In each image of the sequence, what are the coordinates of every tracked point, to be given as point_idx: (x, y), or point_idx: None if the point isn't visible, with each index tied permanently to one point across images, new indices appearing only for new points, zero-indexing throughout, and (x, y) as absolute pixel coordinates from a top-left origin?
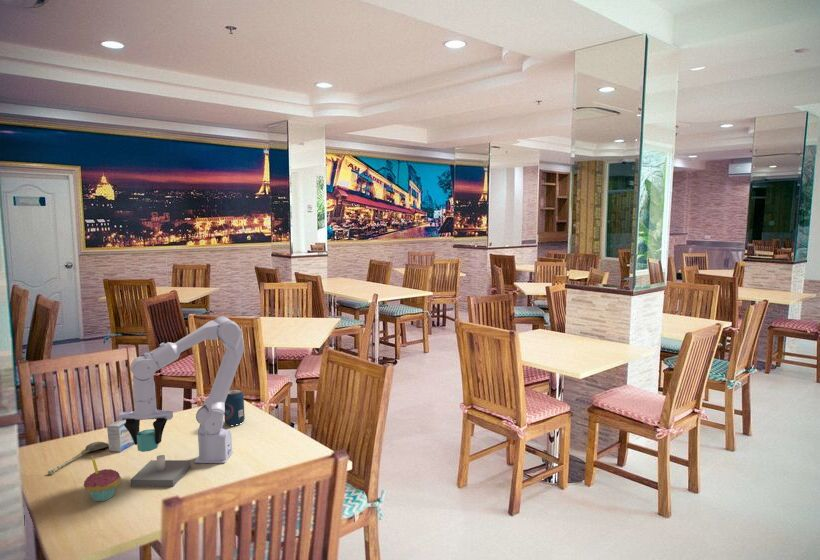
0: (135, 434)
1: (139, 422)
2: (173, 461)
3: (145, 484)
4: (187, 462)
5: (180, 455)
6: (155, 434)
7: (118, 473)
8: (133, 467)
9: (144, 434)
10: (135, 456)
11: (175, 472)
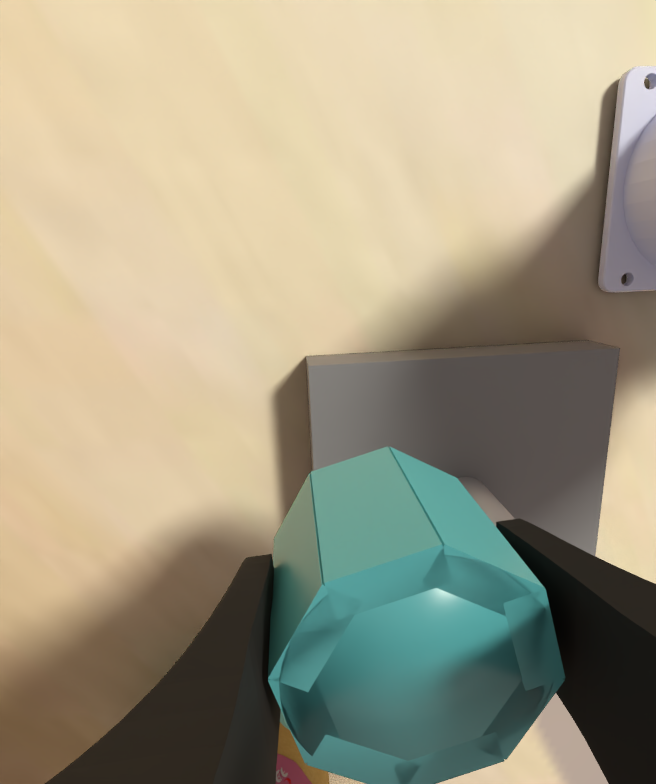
0: (270, 746)
1: (230, 747)
2: (497, 376)
3: None
4: (606, 383)
5: (442, 146)
6: (579, 724)
7: (298, 781)
8: (178, 376)
9: (409, 728)
10: (62, 179)
11: (571, 527)
